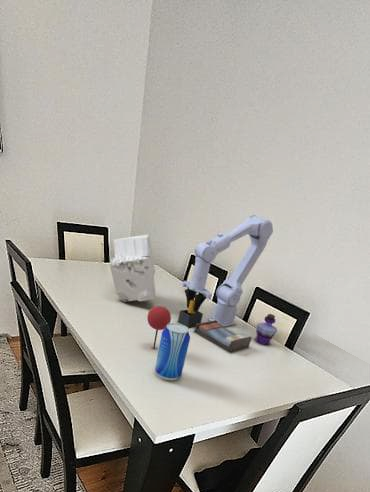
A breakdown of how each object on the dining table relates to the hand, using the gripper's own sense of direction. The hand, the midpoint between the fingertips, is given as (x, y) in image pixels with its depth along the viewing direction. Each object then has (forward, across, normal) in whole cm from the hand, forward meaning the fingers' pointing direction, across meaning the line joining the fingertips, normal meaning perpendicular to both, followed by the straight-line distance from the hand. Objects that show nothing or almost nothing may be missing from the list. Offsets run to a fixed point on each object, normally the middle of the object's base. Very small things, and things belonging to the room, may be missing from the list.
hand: (192, 309), depth 156 cm
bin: (+6, 0, 0) cm, 6 cm away
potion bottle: (+6, +25, +19) cm, 32 cm away
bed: (+6, +16, +2) cm, 18 cm away
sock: (+1, 0, 0) cm, 1 cm away
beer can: (+6, +28, -38) cm, 48 cm away
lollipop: (+6, +12, -30) cm, 33 cm away
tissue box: (+6, -30, -8) cm, 32 cm away
